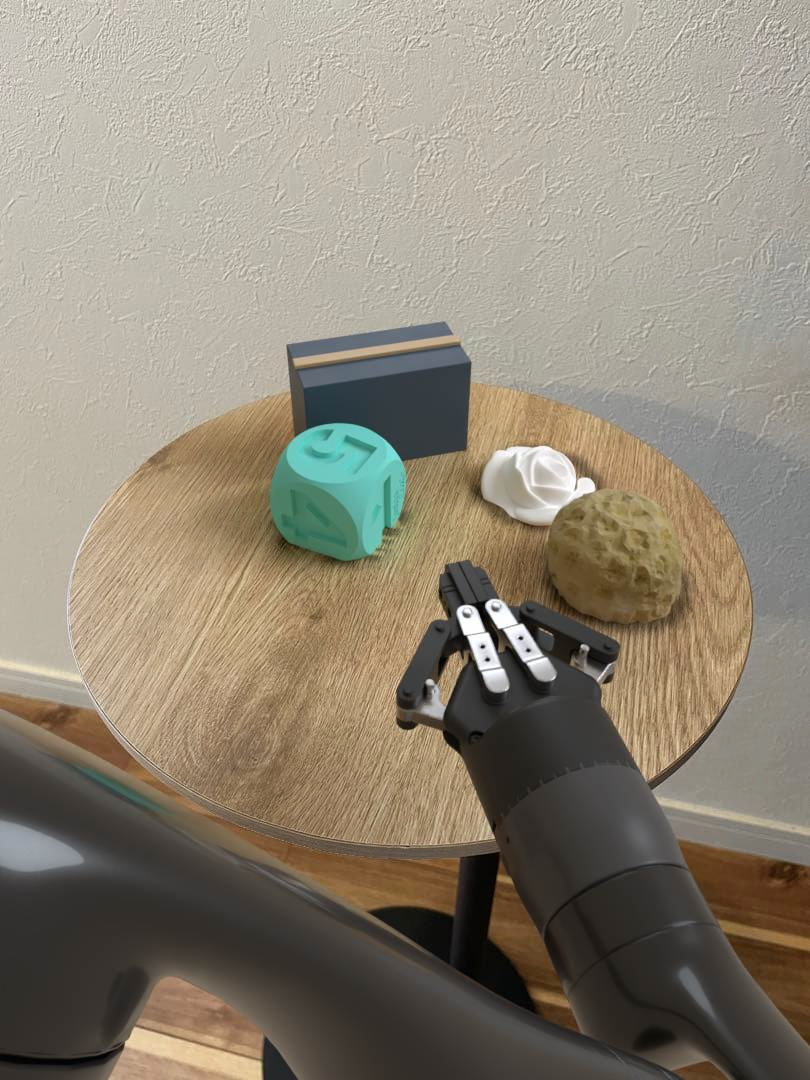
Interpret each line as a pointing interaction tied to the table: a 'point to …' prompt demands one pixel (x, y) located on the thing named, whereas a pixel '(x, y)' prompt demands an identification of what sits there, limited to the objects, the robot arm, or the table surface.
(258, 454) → the table surface
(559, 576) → the rock
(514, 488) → the rose
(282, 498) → the decorative dice
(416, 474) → the table surface
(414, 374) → the box
